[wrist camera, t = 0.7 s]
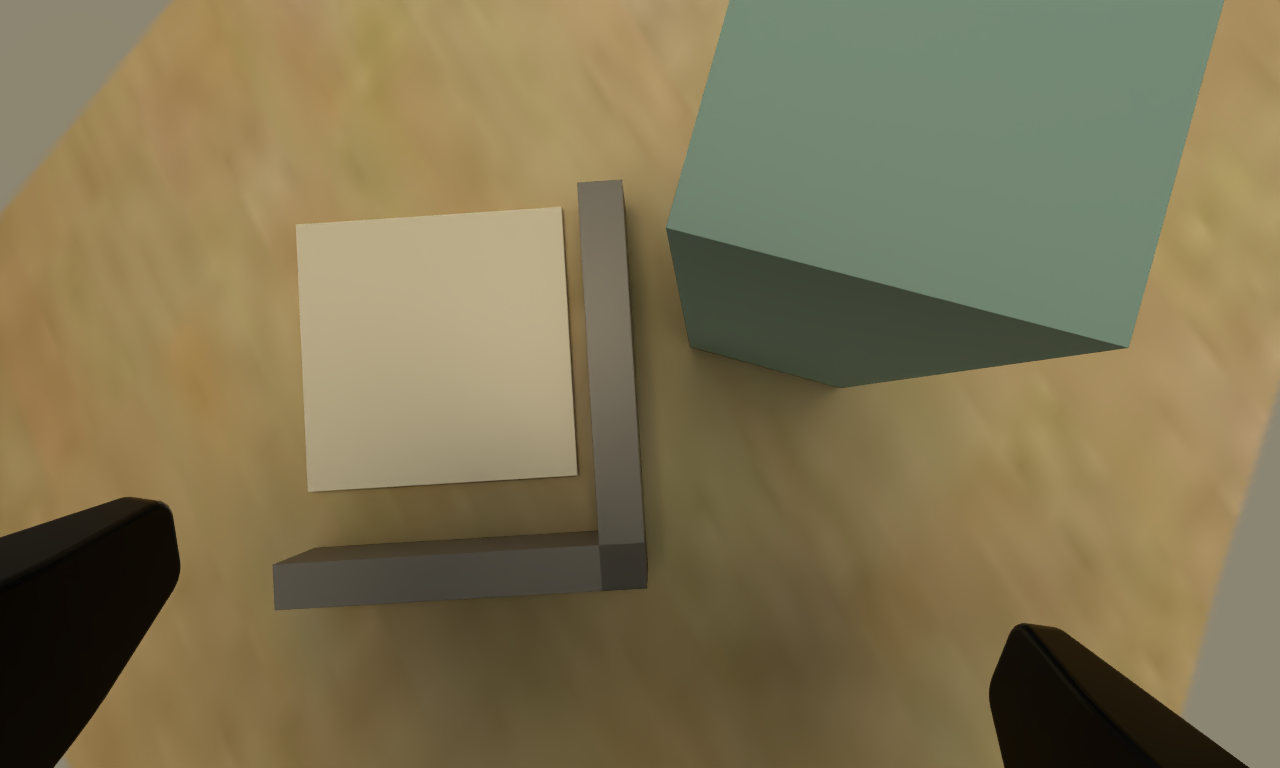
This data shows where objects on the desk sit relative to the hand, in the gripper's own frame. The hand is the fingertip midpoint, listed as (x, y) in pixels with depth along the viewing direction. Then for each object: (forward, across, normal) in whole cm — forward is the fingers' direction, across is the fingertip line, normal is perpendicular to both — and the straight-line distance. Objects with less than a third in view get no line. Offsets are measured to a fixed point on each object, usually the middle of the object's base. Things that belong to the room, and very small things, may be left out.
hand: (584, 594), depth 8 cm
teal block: (+16, -4, +1) cm, 16 cm away
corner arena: (+14, +5, +5) cm, 15 cm away
